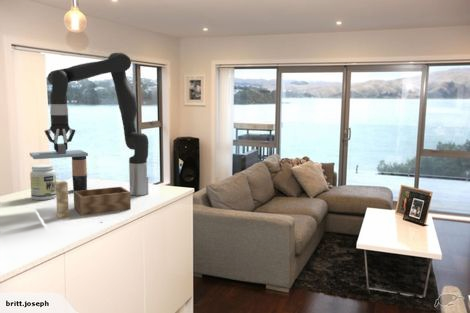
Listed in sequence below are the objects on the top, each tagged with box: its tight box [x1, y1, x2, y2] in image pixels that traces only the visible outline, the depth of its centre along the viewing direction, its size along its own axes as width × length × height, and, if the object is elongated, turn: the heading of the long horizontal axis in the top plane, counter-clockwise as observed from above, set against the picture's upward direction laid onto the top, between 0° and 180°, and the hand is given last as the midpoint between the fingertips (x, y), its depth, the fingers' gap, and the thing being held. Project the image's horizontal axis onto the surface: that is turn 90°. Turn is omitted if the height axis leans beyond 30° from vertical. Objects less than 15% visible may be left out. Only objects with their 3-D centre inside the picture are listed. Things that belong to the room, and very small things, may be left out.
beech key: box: [55, 180, 70, 219], centre depth 181 cm, size 4×4×16 cm
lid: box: [29, 143, 89, 160], centre depth 198 cm, size 23×15×5 cm, turn 122°
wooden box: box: [73, 186, 132, 216], centre depth 195 cm, size 22×14×9 cm, turn 122°
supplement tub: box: [29, 163, 57, 201], centre depth 218 cm, size 12×12×17 cm
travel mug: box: [71, 156, 88, 192], centre depth 236 cm, size 8×8×20 cm
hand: (61, 150), depth 199 cm, fingers closed on lid, 3 cm apart
